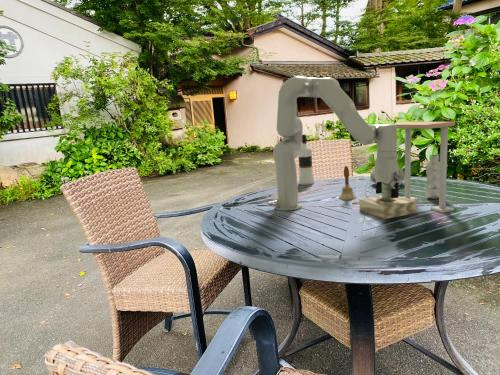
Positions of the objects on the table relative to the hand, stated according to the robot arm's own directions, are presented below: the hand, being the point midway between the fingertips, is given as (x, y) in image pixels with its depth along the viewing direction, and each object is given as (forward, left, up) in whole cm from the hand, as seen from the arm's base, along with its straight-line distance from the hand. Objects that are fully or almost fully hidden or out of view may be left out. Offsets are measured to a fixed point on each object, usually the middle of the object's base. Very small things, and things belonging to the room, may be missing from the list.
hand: (386, 195), depth 152 cm
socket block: (0, 0, -7) cm, 7 cm away
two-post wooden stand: (+15, 0, -7) cm, 17 cm away
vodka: (0, +74, -7) cm, 74 cm away
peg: (0, 0, -6) cm, 6 cm away
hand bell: (0, +30, -7) cm, 31 cm away
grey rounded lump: (+34, +43, -7) cm, 55 cm away
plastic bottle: (+30, +6, -7) cm, 31 cm away
